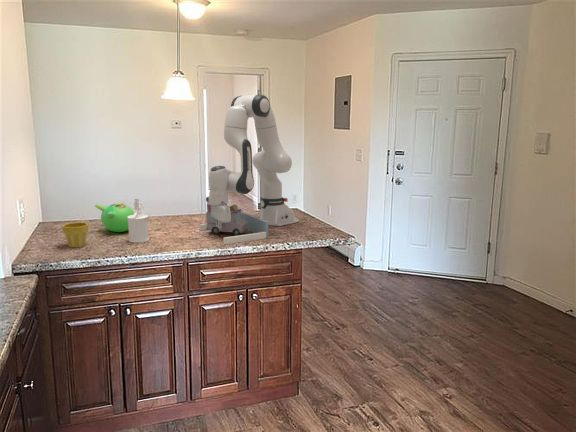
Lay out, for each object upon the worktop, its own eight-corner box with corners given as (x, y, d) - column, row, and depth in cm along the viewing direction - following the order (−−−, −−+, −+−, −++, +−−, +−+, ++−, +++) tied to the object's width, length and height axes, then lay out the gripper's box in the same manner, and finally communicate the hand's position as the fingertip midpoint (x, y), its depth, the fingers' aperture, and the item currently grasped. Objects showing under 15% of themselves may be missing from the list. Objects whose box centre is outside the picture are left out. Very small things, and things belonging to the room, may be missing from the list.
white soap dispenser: (132, 237, 228) (130, 196, 224) (151, 237, 228) (149, 196, 223) (124, 243, 218) (121, 200, 213) (144, 243, 217) (142, 201, 213)
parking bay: (239, 225, 255) (239, 210, 253) (268, 238, 230) (268, 222, 228) (199, 230, 243) (198, 215, 241) (224, 244, 218) (224, 227, 216)
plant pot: (69, 242, 218) (67, 221, 216) (92, 242, 219) (90, 221, 217) (60, 249, 208) (58, 227, 206) (85, 248, 209) (83, 227, 207)
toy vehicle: (242, 237, 231) (241, 207, 228) (205, 234, 236) (204, 204, 233) (248, 232, 240) (248, 203, 237) (213, 229, 245) (212, 201, 242)
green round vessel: (142, 231, 239) (141, 203, 236) (111, 237, 227) (109, 207, 224) (125, 225, 251) (123, 198, 248) (93, 231, 239) (91, 202, 236)
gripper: (234, 203, 222) (234, 231, 225) (216, 196, 239) (216, 223, 242) (221, 204, 219) (222, 233, 222) (204, 197, 236) (205, 224, 239)
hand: (219, 227), depth 232 cm, fingers closed
